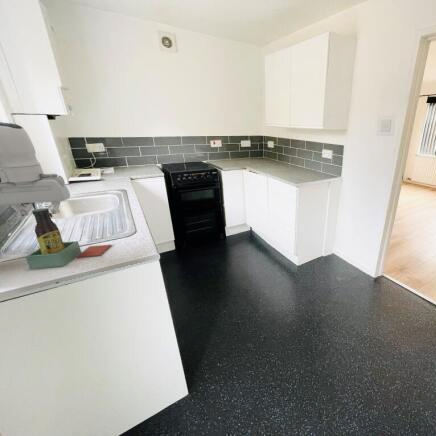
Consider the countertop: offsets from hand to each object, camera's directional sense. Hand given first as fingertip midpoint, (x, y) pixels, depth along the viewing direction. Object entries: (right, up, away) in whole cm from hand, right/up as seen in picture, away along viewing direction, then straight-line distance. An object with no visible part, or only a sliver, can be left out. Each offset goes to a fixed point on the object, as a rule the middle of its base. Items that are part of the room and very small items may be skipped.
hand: (40, 214), depth 85 cm
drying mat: (+9, -15, +13) cm, 21 cm away
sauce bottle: (0, -17, +6) cm, 18 cm away
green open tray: (0, -17, +6) cm, 18 cm away
